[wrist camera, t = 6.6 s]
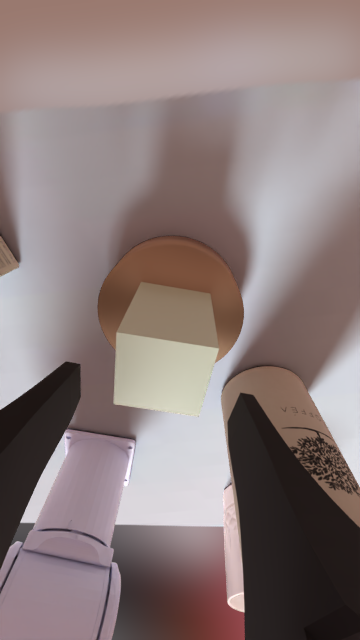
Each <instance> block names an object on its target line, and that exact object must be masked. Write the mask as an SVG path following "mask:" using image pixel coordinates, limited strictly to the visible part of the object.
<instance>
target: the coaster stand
mask: <svg viewBox="0 0 360 640" xmlns="http://www.w3.org/2000/svg"><path fill="white" fill-rule="evenodd" d="M141 282H145V283H151V284H157V285H163V286H169V287H175V288H181V289H187V290H192V291H198V292H204V293H210V294H211V301H212V307H213V313H214V320H215V326H216V332H217V339H218V345H219V350H218V354H217V357H216V360H215V363H216V362H217V361H219V360H220V359H221V358H223V357H224V356H225V355H226V354H227V353H228V352H229V351H230V349H231V348H232V347H233V345H234V344H235V342H236V341H237V339H238V337H239V334H240V332H241V329H242V325H243V319H244V307H243V301H242V297H241V294H240V291H239V288H238V286H237V284H236V281H235V279H234V277H233V274H232V272H231V270H230V268H229V267H228V265H227V264H226V262H225V261H224V260H223V258H222V257H221V256H220V255H219V254H218V253H217V252H215V251H214V250H213V249H212V248H210V247H209V246H207V245H205V244H204V243H201V242H199V241H197V240H194V239H191V238H187V237H181V236H162V237H156V238H152V239H149V240H147V241H144V242H142V243H140V244H138V245H137V246H135V247H134V248H132V249H131V250H130V251H129V252H128V253H126V255H125V256H124V257H123V258H122V259H121V260H120V261H119V263H118V264H117V265H116V266H115V267H114V268H113V269H112V271H111V272H110V273H109V274H108V276H107V278H106V279H105V281H104V283H103V285H102V287H101V290H100V294H99V298H98V317H99V322H100V325H101V328H102V331H103V333H104V335H105V337H106V338H107V340H108V341H109V343H110V344H111V346H112V347H113V348H114V349H115V350H116V332H117V330H118V328H119V326H120V324H121V322H122V320H123V318H124V316H125V314H126V312H127V310H128V308H129V306H130V304H131V302H132V300H133V298H134V296H135V294H136V291H137V289H138V287H139V285H140V283H141Z"/></svg>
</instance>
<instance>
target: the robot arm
mask: <svg viewBox="0 0 360 640" xmlns="http://www.w3.org/2000/svg"><path fill="white" fill-rule="evenodd" d="M80 397H81V393H80V364H76V363H71V362H65V363H63V364H62V365H61V366H60V367H58V368H57V369H56V370H55V371H53V372H52V373H51V374H50V375H48V376H47V377H46V378H44V379H43V380H42V381H40V382H39V383H38V384H37V385H35V386H34V387H32V388H31V389H30V390H28V391H27V392H26V393H24V394H23V395H22V396H20V397H19V398H17V399H16V400H14V401H13V402H11V403H10V404H8V405H7V406H6V407H4V408H3V409H1V410H0V640H111V639H112V635H113V631H114V627H115V622H116V617H117V612H118V606H119V598H120V590H121V576H120V573H119V570H118V566H117V563H114V562H111V561H112V556H113V551H114V549H112V548H110V544H111V539H112V534H113V530H114V525H115V521H116V517H117V513H118V508H119V504H120V499H121V495H122V490H123V486H127V485H128V483H129V478H130V472H131V466H132V461H133V455H134V449H135V441H134V440H132V439H126V438H120V437H113V436H107V435H101V434H95V433H89V432H82V431H76V430H70V429H68V430H66V429H67V427H68V425H69V423H70V421H71V419H72V417H73V415H74V412H75V410H76V407H77V405H78V402H79V400H80ZM227 427H228V446H229V452H230V459H231V465H232V471H233V477H234V483H235V489H236V495H237V501H238V509H239V520H240V533H241V548H242V564H243V586H244V613H245V640H360V527H359V526H358V525H357V524H356V523H355V522H354V521H353V520H352V519H351V518H350V517H349V516H348V515H347V514H346V513H345V512H344V511H343V510H342V509H341V508H340V507H339V506H338V505H337V504H336V503H335V502H334V501H333V500H332V499H331V497H330V496H329V495H328V494H327V493H326V492H325V491H324V490H323V489H322V487H321V486H320V485H319V484H318V483H317V482H316V480H315V479H314V478H313V477H312V476H311V475H310V474H309V472H308V471H307V470H306V469H305V467H304V466H303V465H302V464H301V462H300V461H299V460H298V458H297V457H296V456H295V455H294V453H293V452H292V451H291V449H290V448H289V447H288V445H287V444H286V443H285V441H284V440H283V438H282V437H281V435H280V434H279V433H278V431H277V430H276V428H275V427H274V425H273V424H272V422H271V421H270V419H269V418H268V416H267V415H266V413H265V412H264V410H263V409H262V407H261V406H260V404H259V403H258V401H257V399H256V398H255V396H254V395H252V394H246V393H241V392H240V394H239V397H238V399H237V401H236V403H235V406H234V408H233V410H232V412H231V415H230V417H229V419H228V422H227ZM65 430H66V431H65ZM64 432H65V433H64ZM63 434H64V439H65V460H64V462H63V464H62V466H61V468H60V471H59V473H58V475H57V477H56V479H55V482H54V484H53V486H52V488H51V490H50V493H49V495H48V497H47V499H46V501H45V504H44V506H43V508H42V510H41V512H40V515H39V517H38V519H37V521H36V523H35V526H34V528H33V530H31V531H30V532H29V534H28V536H27V539H26V541H25V543H24V545H23V543H22V542H19V541H17V542H15V543H14V545H12V546H10V545H11V542H12V540H13V537H14V535H15V533H16V531H17V528H18V526H19V524H20V521H21V519H22V516H23V514H24V512H25V509H26V507H27V505H28V503H29V500H30V498H31V496H32V494H33V491H34V489H35V487H36V485H37V482H38V480H39V478H40V476H41V474H42V472H43V470H44V469H45V467H46V465H47V463H48V461H49V460H50V458H51V456H52V454H53V452H54V451H55V449H56V447H57V445H58V443H59V441H60V440H61V438H62V436H63ZM22 545H23V547H22Z"/></svg>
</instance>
